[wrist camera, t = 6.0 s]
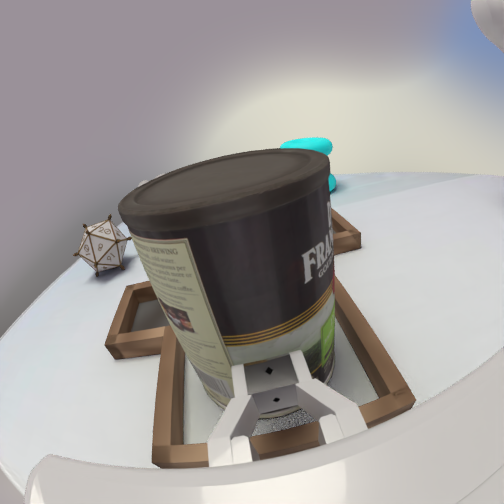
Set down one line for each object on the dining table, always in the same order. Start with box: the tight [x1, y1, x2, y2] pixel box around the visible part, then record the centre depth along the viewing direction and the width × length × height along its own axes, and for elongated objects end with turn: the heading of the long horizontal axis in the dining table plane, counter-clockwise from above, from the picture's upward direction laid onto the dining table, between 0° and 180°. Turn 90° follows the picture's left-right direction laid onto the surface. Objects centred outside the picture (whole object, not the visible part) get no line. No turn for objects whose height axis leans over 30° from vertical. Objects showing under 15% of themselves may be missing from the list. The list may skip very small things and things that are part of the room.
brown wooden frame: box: [105, 208, 416, 469], centre depth 27 cm, size 27×35×2 cm
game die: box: [73, 214, 132, 277], centre depth 36 cm, size 9×8×10 cm
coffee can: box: [118, 148, 335, 418], centre depth 16 cm, size 10×10×14 cm
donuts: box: [280, 138, 336, 191], centre depth 49 cm, size 10×10×10 cm
